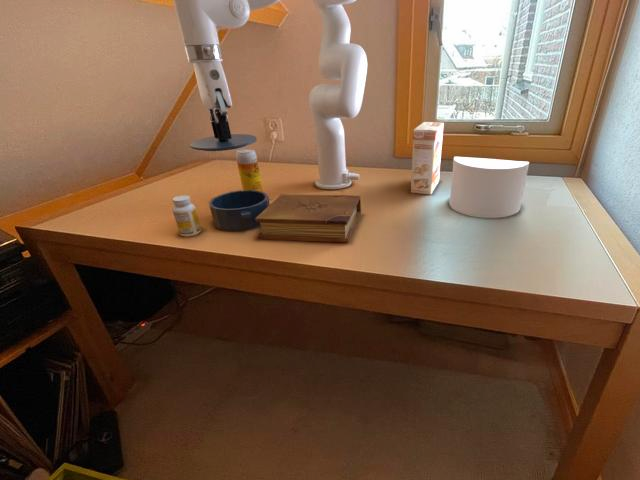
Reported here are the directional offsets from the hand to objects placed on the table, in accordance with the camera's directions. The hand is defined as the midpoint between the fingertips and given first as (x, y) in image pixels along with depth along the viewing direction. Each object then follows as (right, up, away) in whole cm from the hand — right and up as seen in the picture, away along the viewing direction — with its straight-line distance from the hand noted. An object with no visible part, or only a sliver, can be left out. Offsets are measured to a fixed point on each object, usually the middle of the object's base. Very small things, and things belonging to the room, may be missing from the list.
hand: (223, 137), depth 94 cm
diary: (+22, -22, +5) cm, 32 cm away
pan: (+2, -19, +10) cm, 22 cm away
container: (+71, -15, +15) cm, 74 cm away
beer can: (0, -10, +26) cm, 28 cm away
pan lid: (0, -1, +1) cm, 1 cm away
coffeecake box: (+57, -6, +31) cm, 65 cm away
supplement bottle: (-10, -24, +4) cm, 26 cm away
